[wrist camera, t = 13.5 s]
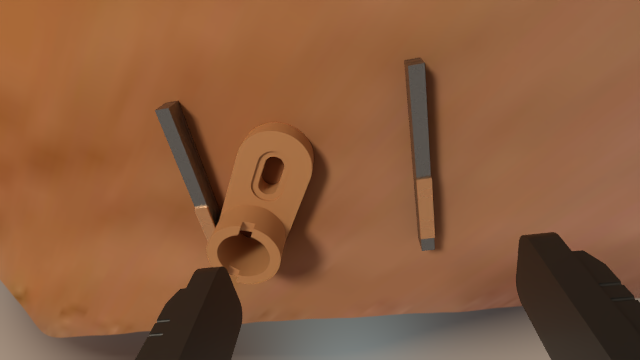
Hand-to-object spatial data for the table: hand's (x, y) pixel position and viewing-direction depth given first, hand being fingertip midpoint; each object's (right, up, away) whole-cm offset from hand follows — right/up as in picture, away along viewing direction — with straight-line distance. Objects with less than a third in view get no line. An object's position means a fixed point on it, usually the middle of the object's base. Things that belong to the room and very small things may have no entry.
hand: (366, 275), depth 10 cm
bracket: (-8, +2, +35) cm, 36 cm away
